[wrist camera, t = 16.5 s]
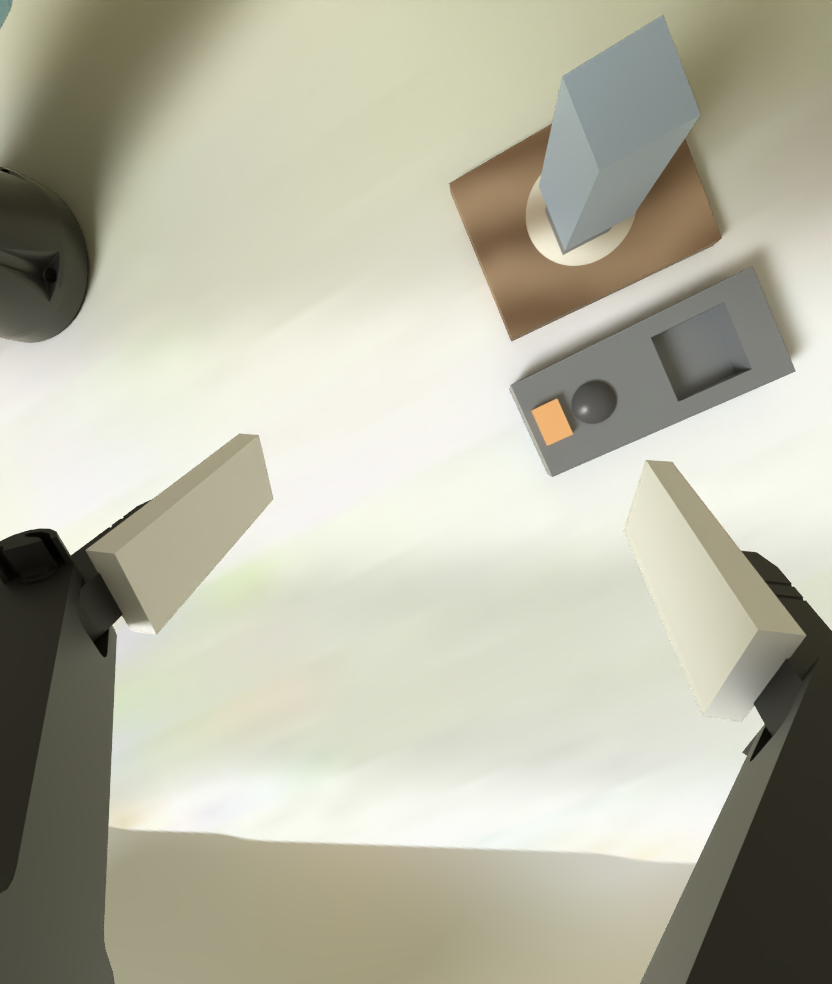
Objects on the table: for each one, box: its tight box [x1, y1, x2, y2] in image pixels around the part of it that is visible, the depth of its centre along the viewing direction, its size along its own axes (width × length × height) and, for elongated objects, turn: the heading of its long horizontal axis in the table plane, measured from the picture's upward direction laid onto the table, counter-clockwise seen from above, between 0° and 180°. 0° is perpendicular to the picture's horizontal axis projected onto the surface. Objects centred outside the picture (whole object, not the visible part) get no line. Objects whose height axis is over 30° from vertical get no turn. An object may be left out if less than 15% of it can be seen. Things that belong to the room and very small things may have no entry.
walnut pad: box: [449, 124, 721, 341], centre depth 31 cm, size 13×16×1 cm
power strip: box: [509, 266, 795, 477], centre depth 32 cm, size 18×8×4 cm, turn 116°
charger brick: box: [539, 15, 701, 255], centre depth 25 cm, size 5×5×12 cm
